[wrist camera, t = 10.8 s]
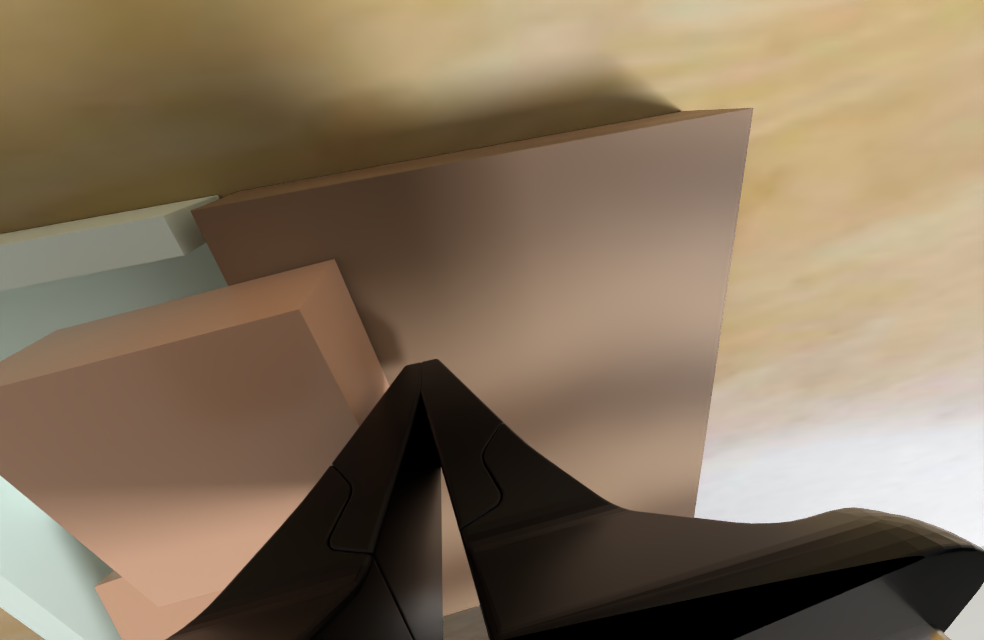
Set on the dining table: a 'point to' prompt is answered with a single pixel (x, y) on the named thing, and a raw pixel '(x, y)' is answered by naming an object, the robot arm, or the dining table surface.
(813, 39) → the dining table surface
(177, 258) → the tray
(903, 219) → the dining table surface
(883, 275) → the dining table surface
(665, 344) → the board
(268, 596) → the robot arm
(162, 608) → the tile
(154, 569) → the tile
